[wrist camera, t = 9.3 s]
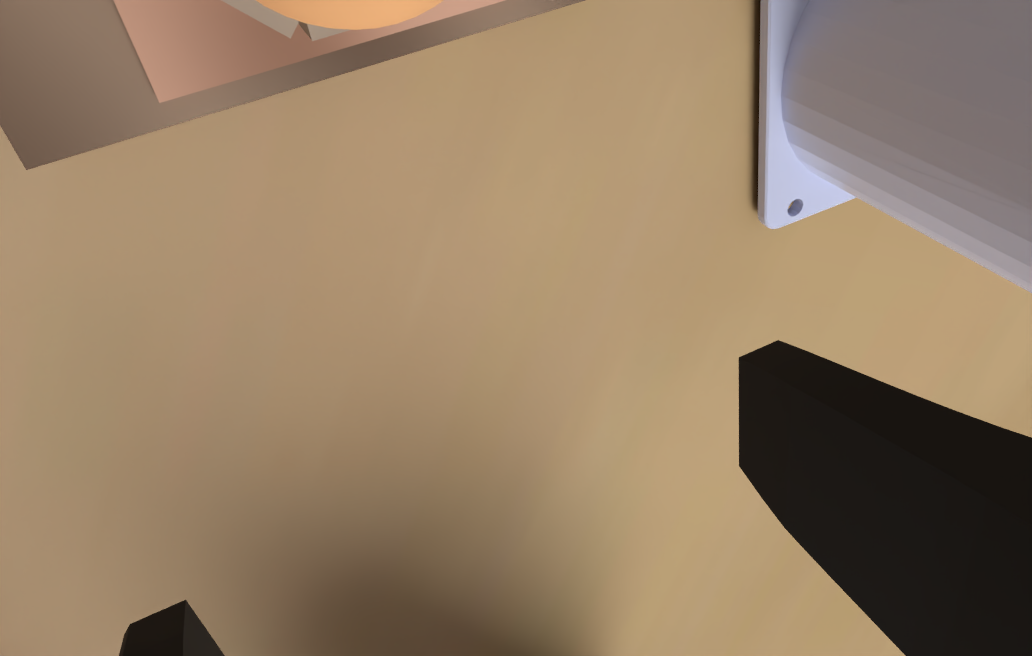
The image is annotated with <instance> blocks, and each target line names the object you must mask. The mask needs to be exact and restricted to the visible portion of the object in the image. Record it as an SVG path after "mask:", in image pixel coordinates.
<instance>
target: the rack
mask: <svg viewBox="0 0 1032 656" xmlns="http://www.w3.org/2000/svg"><path fill="white" fill-rule="evenodd" d="M581 1H584V0H443V1H442V2H441V3H439V4H438V5H436V6H435V7H433V8H432V9H430V10H428V11H426V12H424V13H422V14H420V15H418V16H417V17H414V18H411V19H409V20H406V21H403V22H401V23H398V24H394V25H389V26H385V27H380V28H374V29H361V30H349V29H333V28H326V27H321V26H316V25H311V24H306V23H303V22H300V21H297V20H295V19H292V18H289V17H286V16H284V15H282V14H280V13H277V12H275V11H273V10H271V9H269V8H267V7H265V6H263V5H262V4H260V3H259V2H257V1H256V0H0V125H1V127H2V129H3V131H4V132H5V134H6V136H7V137H8V139H9V141H10V143H11V144H12V146H13V148H14V150H15V151H16V153H17V155H18V156H19V158H20V160H21V162H22V163H23V165H24V167H25V168H26V170H28V169H31V168H35V167H38V166H41V165H45V164H48V163H51V162H54V161H58V160H61V159H64V158H68V157H71V156H74V155H77V154H81V153H84V152H87V151H91V150H94V149H97V148H100V147H104V146H107V145H110V144H114V143H117V142H120V141H124V140H127V139H130V138H133V137H137V136H140V135H143V134H147V133H150V132H153V131H156V130H160V129H163V128H166V127H170V126H173V125H176V124H179V123H183V122H186V121H189V120H193V119H196V118H199V117H203V116H206V115H209V114H212V113H216V112H219V111H222V110H226V109H229V108H232V107H235V106H239V105H242V104H245V103H249V102H252V101H255V100H259V99H262V98H265V97H268V96H272V95H275V94H278V93H282V92H285V91H288V90H291V89H295V88H298V87H301V86H305V85H308V84H311V83H314V82H318V81H321V80H324V79H328V78H331V77H334V76H338V75H341V74H344V73H347V72H351V71H354V70H357V69H361V68H364V67H367V66H370V65H374V64H377V63H380V62H384V61H387V60H390V59H394V58H397V57H400V56H403V55H407V54H410V53H413V52H417V51H420V50H423V49H426V48H430V47H433V46H436V45H440V44H443V43H446V42H449V41H453V40H456V39H459V38H463V37H466V36H469V35H473V34H476V33H479V32H482V31H486V30H489V29H492V28H496V27H499V26H502V25H505V24H509V23H512V22H515V21H519V20H522V19H525V18H528V17H532V16H535V15H538V14H542V13H545V12H548V11H552V10H555V9H558V8H561V7H565V6H568V5H571V4H575V3H578V2H581Z"/></svg>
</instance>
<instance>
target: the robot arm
mask: <svg viewBox="0 0 1032 656" xmlns="http://www.w3.org/2000/svg"><path fill="white" fill-rule="evenodd" d="M856 197H857V198H859V199H861V200H862V201H864V202H866V203H868V204H870V205H871V206H873V207H875V208H877V209H879V210H881V211H882V212H884V213H886V214H888V215H890V216H892V217H893V218H895V219H897V220H899V221H901V222H903V223H904V224H906V225H908V226H910V227H912V228H914V229H915V230H917V231H919V232H921V233H923V234H925V235H926V236H928V237H930V238H932V239H934V240H936V241H937V242H939V243H941V244H943V245H945V246H947V247H948V248H950V249H952V250H954V251H956V252H957V253H959V254H961V255H963V256H965V257H967V258H968V259H970V260H972V261H974V262H976V263H978V264H979V265H981V266H983V267H985V268H987V269H989V270H990V271H992V272H994V273H996V274H998V275H1000V276H1001V277H1003V278H1005V279H1007V280H1009V281H1011V282H1012V283H1014V284H1016V285H1018V286H1020V287H1022V288H1023V289H1025V290H1027V291H1029V292H1031V293H1032V0H761V8H760V84H759V160H758V218H759V221H760V222H761V223H762V224H764V225H765V226H767V227H768V228H771V229H777V228H780V227H783V226H785V225H788V224H790V223H793V222H796V221H798V220H801V219H803V218H806V217H808V216H811V215H813V214H816V213H818V212H821V211H823V210H826V209H829V208H831V207H834V206H836V205H839V204H841V203H844V202H846V201H849V200H851V199H854V198H856ZM792 201H794V202H793V204H792V206H791V207H790V208H789V209H788V207H789V205H790V204H791V202H792ZM739 466H740V468H741V469H742V471H743V472H744V473H745V475H746V476H747V478H748V479H749V480H750V482H751V483H752V485H753V486H754V487H755V489H756V490H757V492H758V493H759V494H760V496H761V497H762V499H763V500H764V501H765V503H766V504H767V505H768V507H769V508H770V509H771V511H772V512H773V513H774V515H775V516H776V517H777V518H778V520H779V521H780V522H781V524H782V525H783V526H784V528H785V529H786V530H787V531H788V532H789V533H790V534H791V535H792V536H793V537H794V539H795V540H796V541H797V542H798V543H799V544H800V545H801V546H802V547H803V548H804V549H805V550H806V551H807V552H808V554H809V555H810V556H811V557H812V558H813V559H814V560H815V561H816V562H817V563H818V564H819V565H820V566H821V567H822V568H823V570H824V571H825V572H826V573H827V574H828V575H829V576H830V577H831V578H832V579H833V580H834V581H835V582H836V583H837V584H838V585H839V586H840V587H841V588H842V589H843V591H844V592H845V593H846V594H847V595H848V596H849V597H850V598H851V599H852V600H853V601H854V602H855V603H856V604H857V605H858V606H859V607H860V608H861V609H862V610H863V611H864V613H865V614H866V615H867V616H868V617H869V618H870V619H871V620H872V621H873V622H874V623H875V624H876V625H877V626H878V627H879V628H880V629H881V630H882V631H883V632H884V633H885V635H886V636H887V637H888V638H889V639H890V640H891V641H892V642H893V643H894V644H895V645H896V646H897V647H898V648H899V649H900V650H901V651H902V652H903V653H904V654H905V655H906V656H1032V438H1031V437H1028V436H1025V435H1022V434H1019V433H1016V432H1013V431H1010V430H1007V429H1004V428H1001V427H998V426H996V425H993V424H990V423H987V422H985V421H982V420H979V419H976V418H974V417H971V416H968V415H965V414H963V413H960V412H957V411H955V410H952V409H949V408H947V407H944V406H942V405H939V404H936V403H934V402H931V401H929V400H926V399H924V398H921V397H918V396H916V395H913V394H911V393H908V392H906V391H903V390H901V389H898V388H896V387H893V386H891V385H888V384H886V383H884V382H881V381H879V380H876V379H874V378H871V377H869V376H866V375H864V374H861V373H859V372H857V371H854V370H852V369H849V368H847V367H844V366H842V365H840V364H837V363H835V362H832V361H830V360H827V359H825V358H822V357H820V356H817V355H815V354H813V353H810V352H808V351H805V350H802V349H800V348H797V347H795V346H792V345H789V344H787V343H784V342H782V341H779V340H778V341H775V342H773V343H771V344H769V345H766V346H764V347H762V348H759V349H757V350H755V351H753V352H750V353H748V354H746V355H743V356H741V357H739ZM119 656H224V654H223V653H222V651H221V650H220V648H219V647H218V645H217V644H216V643H215V641H214V640H213V638H212V637H211V635H210V634H209V633H208V631H207V630H206V628H205V627H204V625H203V624H202V622H201V621H200V620H199V618H198V617H197V615H196V614H195V612H194V611H193V609H192V608H191V607H190V605H189V604H188V602H187V601H186V600H184V601H182V602H180V603H177V604H175V605H173V606H170V607H168V608H166V609H164V610H161V611H159V612H157V613H154V614H152V615H150V616H148V617H145V618H143V619H141V620H139V621H136V622H134V623H132V624H130V625H129V627H128V629H127V631H126V633H125V634H124V638H123V642H122V646H121V650H120V654H119Z"/></svg>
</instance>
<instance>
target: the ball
mask: <svg viewBox="0 0 1032 656" xmlns="http://www.w3.org/2000/svg"><path fill="white" fill-rule="evenodd" d="M256 1H257V2H259V3H260V4H262V5H263V6H265V7H267V8H269V9H271V10H273V11H275V12H277V13H280V14H282V15H284V16H286V17H289V18H292V19H295V20H297V21H300V22H303V23H306V24H311V25H316V26H321V27H326V28H333V29H349V30H361V29H374V28H380V27H385V26H389V25H394V24H398V23H401V22H403V21H406V20H409V19H411V18H414V17H417V16H418V15H420V14H422V13H424V12H426V11H428V10H430V9H432V8H433V7H435V6H436V5H438V4H439V3H441V2H442V1H443V0H256Z"/></svg>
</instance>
